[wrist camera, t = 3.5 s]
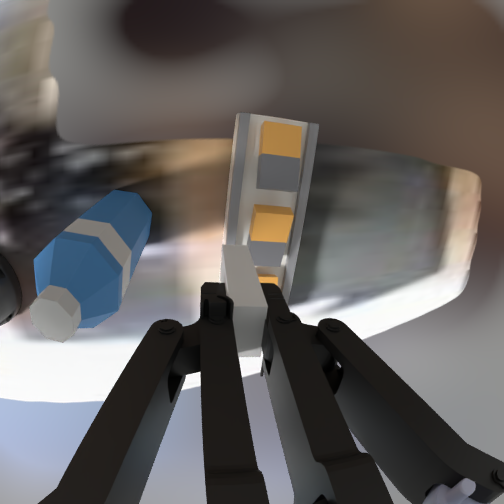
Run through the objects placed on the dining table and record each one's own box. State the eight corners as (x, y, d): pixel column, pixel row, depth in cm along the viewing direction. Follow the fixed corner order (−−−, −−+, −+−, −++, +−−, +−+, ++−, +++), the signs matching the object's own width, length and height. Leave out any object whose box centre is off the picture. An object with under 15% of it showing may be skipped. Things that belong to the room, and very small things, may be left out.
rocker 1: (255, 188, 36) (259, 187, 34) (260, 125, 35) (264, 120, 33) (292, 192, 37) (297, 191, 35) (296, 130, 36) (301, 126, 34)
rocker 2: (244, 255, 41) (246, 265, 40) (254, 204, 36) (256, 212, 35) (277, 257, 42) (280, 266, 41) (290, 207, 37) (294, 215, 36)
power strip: (217, 307, 49) (219, 325, 44) (236, 114, 38) (240, 112, 33) (276, 308, 51) (283, 325, 46) (306, 124, 40) (319, 124, 35)
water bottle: (160, 242, 43) (126, 361, 21) (104, 255, 42) (37, 369, 20) (144, 181, 39) (76, 251, 17) (86, 197, 39) (-14, 276, 16)
